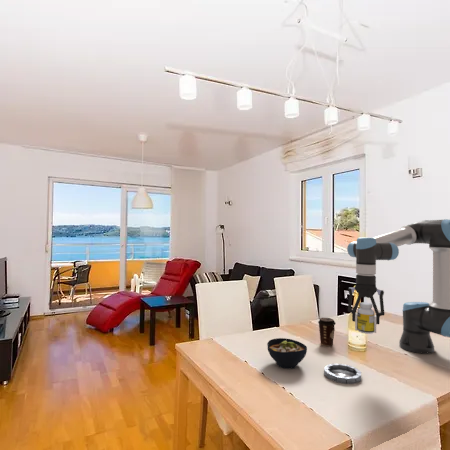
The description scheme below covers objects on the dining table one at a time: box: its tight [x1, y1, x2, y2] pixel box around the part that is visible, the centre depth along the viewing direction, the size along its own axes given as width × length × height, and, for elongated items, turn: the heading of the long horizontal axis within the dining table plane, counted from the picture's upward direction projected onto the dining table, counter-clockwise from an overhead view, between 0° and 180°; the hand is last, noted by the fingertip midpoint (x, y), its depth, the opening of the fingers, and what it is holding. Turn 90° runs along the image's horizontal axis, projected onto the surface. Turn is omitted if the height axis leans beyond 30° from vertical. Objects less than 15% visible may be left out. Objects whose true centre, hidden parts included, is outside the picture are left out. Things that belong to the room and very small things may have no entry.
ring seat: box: [323, 363, 362, 385], centre depth 129 cm, size 14×14×2 cm
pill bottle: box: [356, 301, 375, 335], centre depth 131 cm, size 6×6×12 cm
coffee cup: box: [317, 317, 336, 347], centre depth 166 cm, size 9×8×13 cm
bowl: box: [266, 337, 308, 370], centre depth 139 cm, size 17×17×10 cm
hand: (365, 330), depth 130 cm, fingers closed on pill bottle, 6 cm apart
